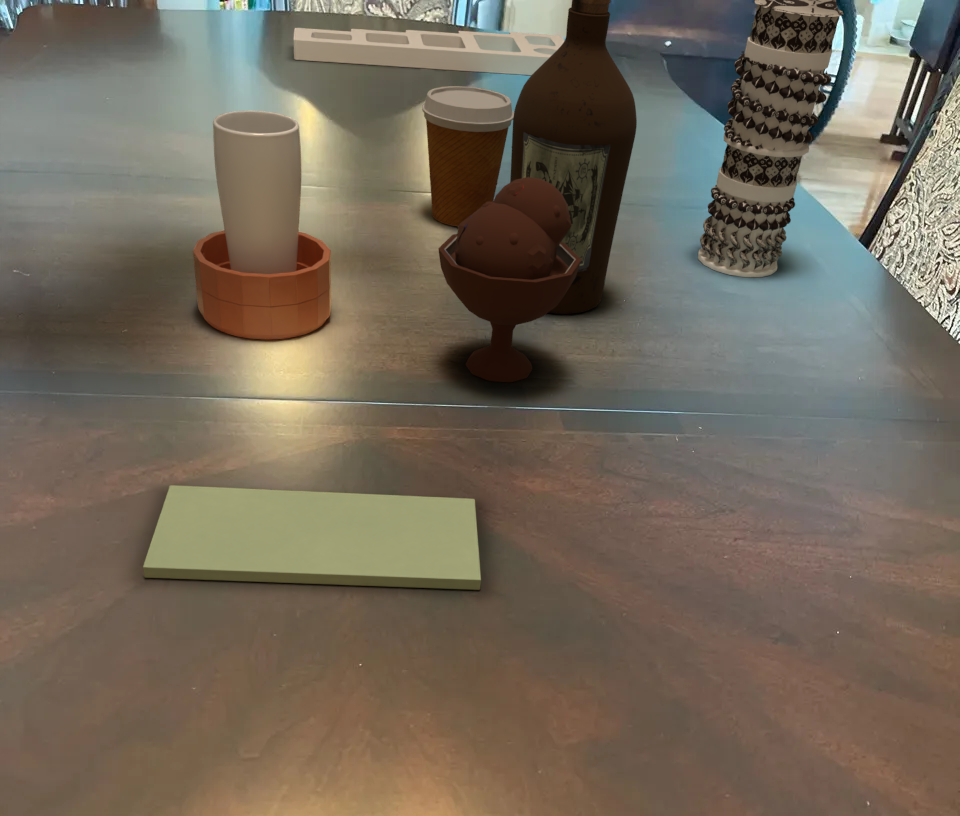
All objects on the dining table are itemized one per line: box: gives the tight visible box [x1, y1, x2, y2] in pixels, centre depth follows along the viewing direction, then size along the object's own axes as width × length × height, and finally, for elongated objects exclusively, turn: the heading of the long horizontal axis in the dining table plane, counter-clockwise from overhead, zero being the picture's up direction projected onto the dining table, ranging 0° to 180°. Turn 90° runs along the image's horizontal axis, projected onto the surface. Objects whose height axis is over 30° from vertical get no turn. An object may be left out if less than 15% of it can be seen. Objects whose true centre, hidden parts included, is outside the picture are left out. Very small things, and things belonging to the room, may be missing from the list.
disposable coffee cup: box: [421, 85, 514, 227], centre depth 111 cm, size 10×10×12 cm
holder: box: [292, 27, 565, 76], centre depth 172 cm, size 45×18×3 cm, turn 96°
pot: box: [192, 229, 332, 340], centre depth 90 cm, size 11×11×6 cm
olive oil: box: [509, 0, 638, 315], centre depth 92 cm, size 11×11×25 cm
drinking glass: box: [212, 110, 302, 274], centre depth 87 cm, size 7×7×15 cm
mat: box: [142, 484, 482, 591], centre depth 66 cm, size 20×9×1 cm, turn 93°
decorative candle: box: [697, 0, 844, 278], centre depth 103 cm, size 9×9×25 cm
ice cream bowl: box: [437, 177, 581, 383], centre depth 83 cm, size 11×11×15 cm
